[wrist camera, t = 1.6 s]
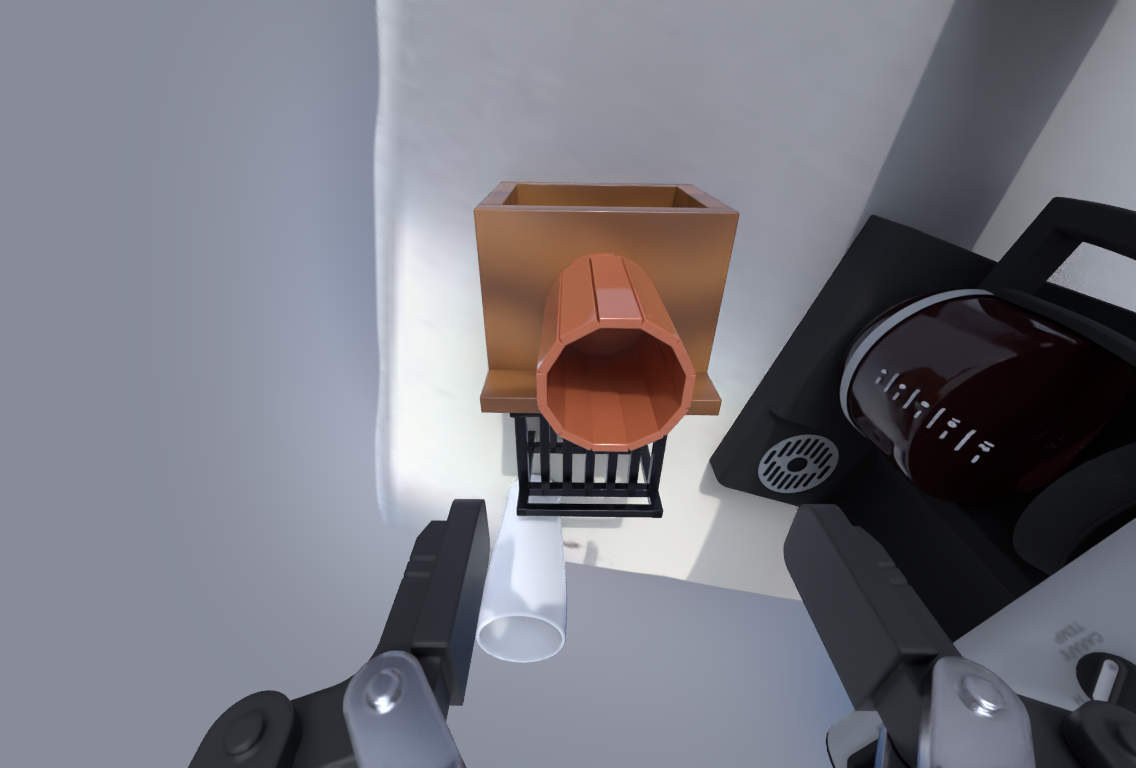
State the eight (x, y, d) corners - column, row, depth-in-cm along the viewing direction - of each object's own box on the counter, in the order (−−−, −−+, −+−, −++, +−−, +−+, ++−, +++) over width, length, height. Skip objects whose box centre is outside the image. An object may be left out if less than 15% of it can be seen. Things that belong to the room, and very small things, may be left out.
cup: (545, 251, 22) (534, 317, 15) (663, 253, 22) (707, 319, 15) (547, 355, 26) (538, 451, 18) (650, 356, 26) (682, 452, 18)
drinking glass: (495, 469, 44) (464, 617, 31) (562, 463, 43) (560, 610, 30) (508, 516, 47) (485, 666, 34) (571, 511, 47) (571, 661, 34)
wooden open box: (500, 181, 30) (460, 221, 19) (691, 184, 30) (763, 226, 19) (509, 318, 35) (481, 412, 24) (671, 320, 35) (718, 415, 24)
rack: (522, 341, 36) (508, 407, 28) (656, 343, 36) (681, 409, 28) (527, 437, 41) (516, 516, 33) (643, 438, 41) (662, 518, 33)
